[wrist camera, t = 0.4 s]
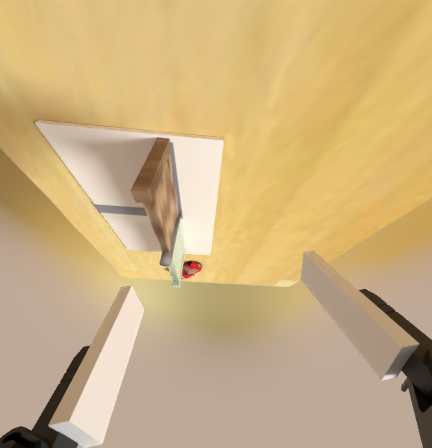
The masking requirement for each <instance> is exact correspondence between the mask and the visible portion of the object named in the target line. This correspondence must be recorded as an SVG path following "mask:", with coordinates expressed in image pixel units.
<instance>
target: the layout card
mask: <svg viewBox="0 0 432 448" xmlns="http://www.w3.org/2000/svg"><path fill="white" fill-rule="evenodd" d="M35 124H36V126H37V127H38V128H39V130H40V131H41V132H42V134H43V135H44V136H45V138H46V139H47V140H48V142H49V143H50V145H51V146H52V147H53V149H54V150H55V151H56V153H57V154H58V155H59V157H60V158H61V160H62V161H63V162H64V164H65V165H66V166H67V168H68V169H69V170H70V172H71V173H72V174H73V176H74V177H75V179H76V180H77V181H78V183H79V184H80V185H81V187H82V188H83V189H84V191H85V192H86V194H87V195H88V196H89V198H90V199H91V200H92V202H93V203H94V206H95V207H96V208H97V210H98V211H99V213H101V214H102V215H103V217H104V218H105V219H106V221H107V222H108V223H109V225H110V226H111V228H112V229H113V230H114V232H115V233H116V234H117V236H118V237H119V238H120V240H121V241H122V243H123V244H124V245H125V247H126V248H127V249H128V250H134V251H150V252H162V251H161V249H160V246H159V243H158V241H157V238H156V236H155V233H154V231H153V228H152V226H151V223H150V221H149V218H148V216H147V213H146V211H145V208H144V206H143V203H136V202H135V200H134V198H133V195H132V193H131V191H130V190H131V188H132V186H133V184H134V182H135V180H136V178H137V176H138V174H139V172H140V170H141V168H142V166H143V165H144V163H145V161H146V159H147V157H148V155H149V153H150V151H151V149H152V147H153V145H154V143H155V141H156V139H157V137H159V138H169V139H170V147H171V152H170V155H171V162H172V169H173V175H174V182H175V188H176V195H177V202H178V208H179V213H180V214H181V217H180V221H181V228H182V235H183V241H184V248H185V254H198V255H211V246H212V237H213V229H214V220H215V212H216V203H217V195H218V186H219V178H220V169H221V161H222V152H223V144H224V138H222V137H211V136H201V135H190V134H180V133H169V132H159V131H148V130H138V129H128V128H117V127H107V126H96V125H86V124H75V123H65V122H55V121H44V120H38V121H36V122H35Z"/></svg>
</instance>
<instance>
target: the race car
mask: <svg viewBox="0 0 432 448" xmlns="http://www.w3.org/2000/svg"><path fill="white" fill-rule="evenodd" d="M201 269H202V265H201V264H200V263H197V262H192V261H189V262H188V263H185V264H183V269H182V276H181V279H186V278H189V277H191V276H192V275H193V276H194V274H195V273H197V272H199V271H201ZM170 275H171V274H170Z"/></svg>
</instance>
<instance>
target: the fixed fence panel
mask: <svg viewBox="0 0 432 448" xmlns="http://www.w3.org/2000/svg"><path fill="white" fill-rule="evenodd" d="M170 152H171V147H170V139H169V138H159V137H157V139H156V141H155V143H154V145H153V147H152V149H151V151H150V153H149V155H148V157H147V159H146V161H145V163H144V165H143V166H142V168H141V170H140V172H139V174H138V176H137V178H136V180H135V182H134V184H133V186H132V188H131V190H130V191H131V193H132V195H133V198H134V200H135V202H136V203H143V206H144V208H145V211H146V213H147V216H148V218H149V221H150V223H151V226H152V228H153V231H154V233H155V236H156V238H157V241H158V243H159V246H160V249H161V251H162V256H161V260H160V265H162V266H170V265H171V261H172V256H173V251H174V246H175V241H176V236H177V232H178V227H179V222H180V217H181V214H180V213H179V208H178V202H177V195H176V188H175V182H174V175H173V169H172V162H171V155H170Z"/></svg>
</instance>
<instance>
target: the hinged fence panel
mask: <svg viewBox="0 0 432 448" xmlns="http://www.w3.org/2000/svg"><path fill="white" fill-rule="evenodd" d="M184 257H185V248H184V241H183V235H182V228H181V221H180V222H179V227H178V232H177V236H176V241H175V246H174V251H173V256H172V261H171V265H170V266H168V269H169V271H170V274H171V276H172V279H173V284H172V286H173V287H177V288H180V282H181V276H182V269H183V263H184Z"/></svg>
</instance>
